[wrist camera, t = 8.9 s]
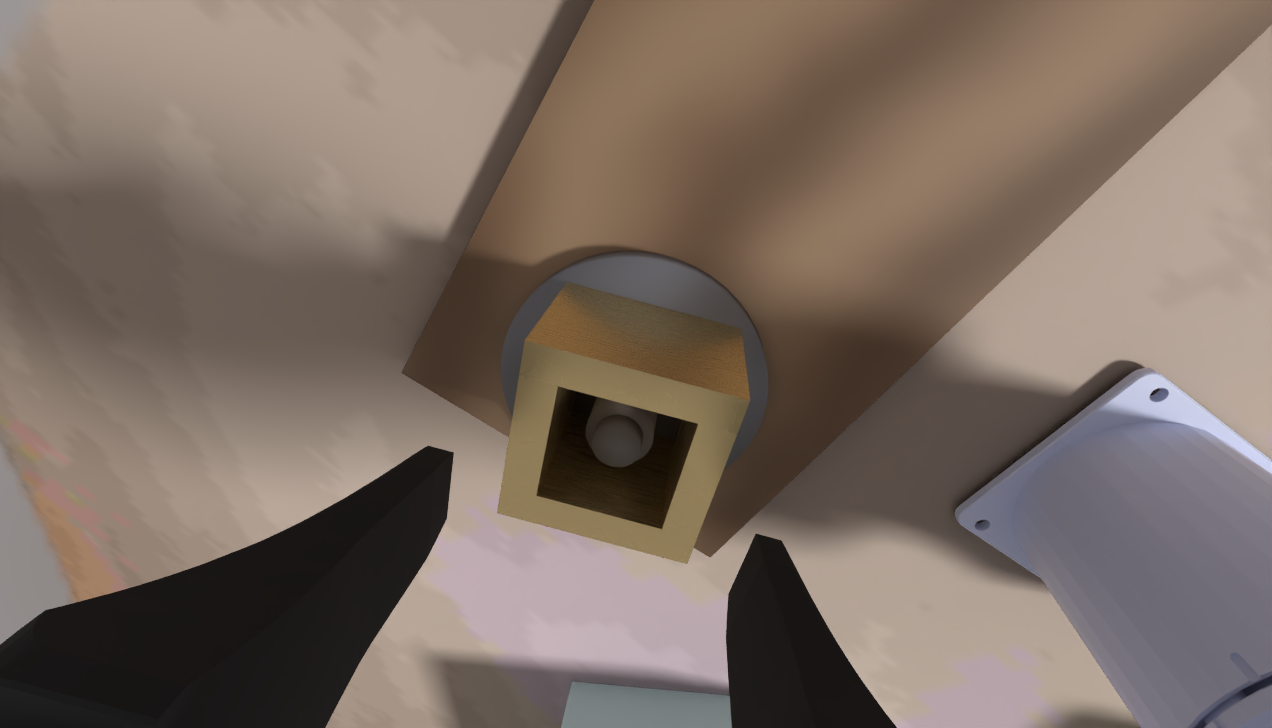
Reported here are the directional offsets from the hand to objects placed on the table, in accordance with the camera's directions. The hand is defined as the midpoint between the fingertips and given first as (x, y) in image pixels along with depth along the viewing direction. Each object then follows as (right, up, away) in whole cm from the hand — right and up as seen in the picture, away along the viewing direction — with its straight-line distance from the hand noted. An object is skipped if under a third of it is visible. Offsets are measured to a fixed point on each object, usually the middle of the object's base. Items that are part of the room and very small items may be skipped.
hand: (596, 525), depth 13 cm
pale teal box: (+4, -18, +18) cm, 26 cm away
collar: (+1, +3, +6) cm, 7 cm away
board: (+6, +10, +4) cm, 12 cm away
